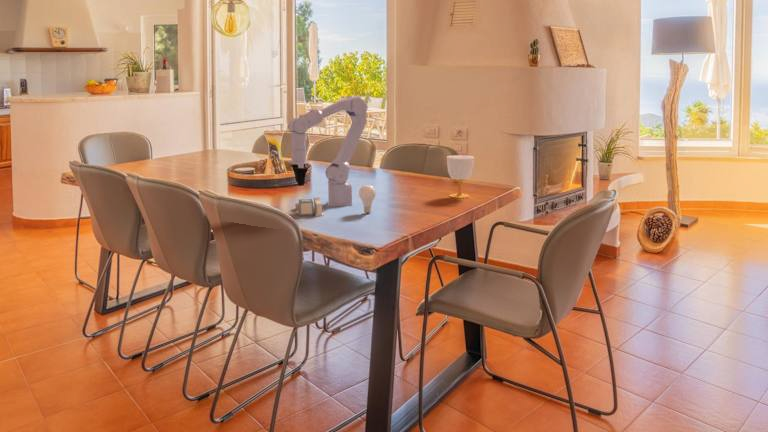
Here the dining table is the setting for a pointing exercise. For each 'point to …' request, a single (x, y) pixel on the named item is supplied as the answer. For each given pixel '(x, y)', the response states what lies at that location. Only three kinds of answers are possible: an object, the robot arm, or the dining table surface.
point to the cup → (460, 170)
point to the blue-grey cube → (305, 207)
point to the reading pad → (304, 215)
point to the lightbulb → (367, 197)
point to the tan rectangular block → (317, 207)
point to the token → (297, 206)
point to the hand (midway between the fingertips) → (300, 183)
